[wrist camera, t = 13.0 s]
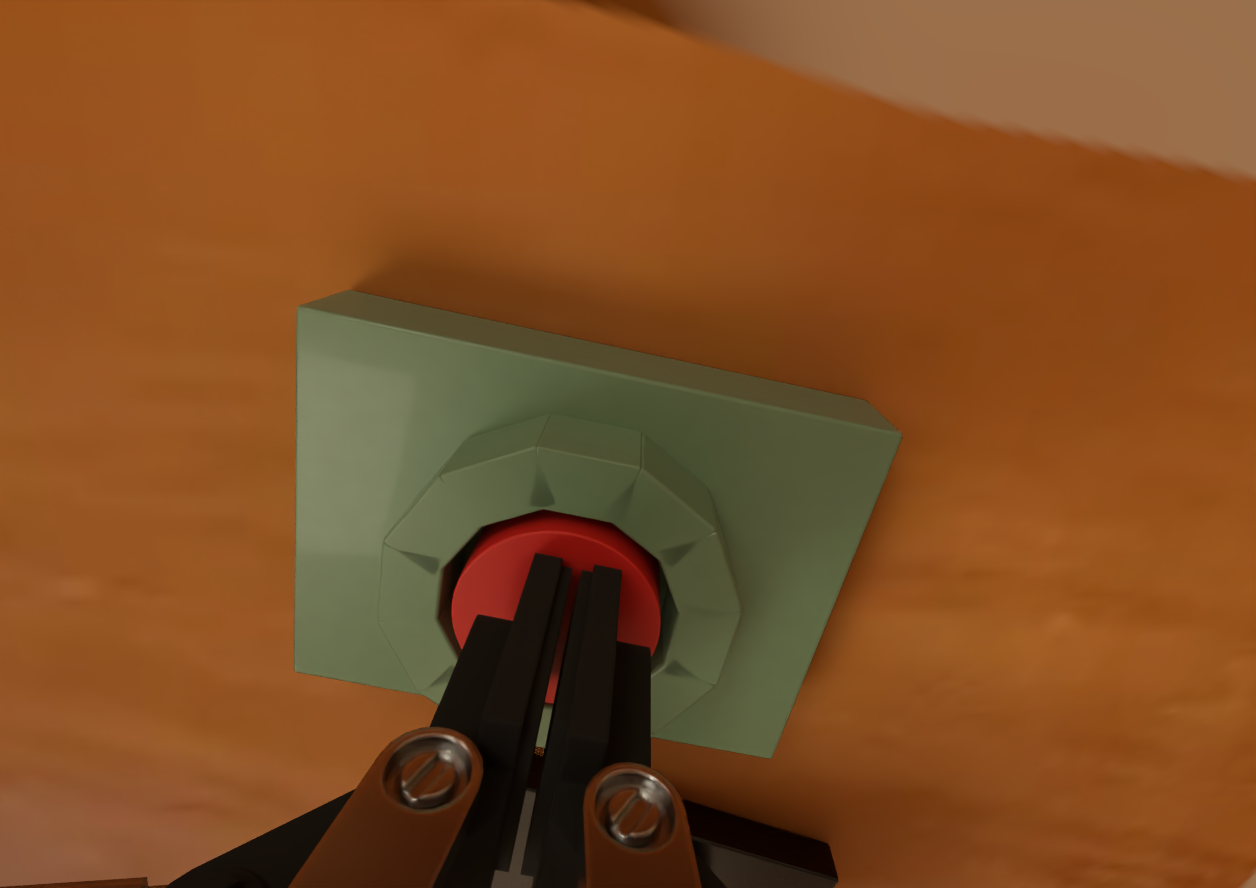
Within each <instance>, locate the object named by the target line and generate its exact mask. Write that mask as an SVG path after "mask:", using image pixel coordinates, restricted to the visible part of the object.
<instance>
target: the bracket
mask: <svg viewBox="0 0 1256 888" xmlns="http://www.w3.org/2000/svg"><path fill="white" fill-rule="evenodd" d="M542 760H543V757H540V756H537V755H534V756H533V761H532V765H531V770H530V775H529V779H528V784H527V789H526V794H525V798H524V803H523V808H522V813H521V817H520V822H519V827H518V831H517V836H516V841H515V846H514V850H513V855H512V860H511V864H510V869H509V872H503V871H497V870H495V873H494V877H493V882H492V886H491V888H532V883H533V877H531V876H526V875H520V873H521V867H522V862H523V857H524V852H525V847H526V842H527V837H528V831H529V826H530V821H531V816H532V811H533V806H534V801H535V795H536V790H537V785H538V780H539V775H540V770H541V765H542ZM682 801H683V804H684V807H685V810H686V814H687V819H688V824H689V829H690V833H691V838H692V843H693V848H694V851H695V852H696V853H697V855H698V856H699V857H700V858H701V859H702V860H703V861H704V862H705V864H706V865H707V866H708V867H709V868H710V869H711V870H712V871H713V872H714V874H715V875H716V876H717V877H718V878H719V879H720V880H721V881H722V883H723V884H724V885H725V886H726V887H727V888H834V887H835V885H836V884H837V883H838V875H837V872H836V868H835V865H834V861H833V857H832V854H831V850H830V847H829V845H828V844H827V843H824V842H821V841H817V840H814V839H811V838H807V837H804V836H801V835H797V834H794V833H791V832H788V831H784V830H781V829H778V828H774V827H771V826H768V825H764V824H761V823H758V822H754V821H751V820H748V819H745V818H741V817H738V816H735V815H731V814H728V813H725V812H721V811H718V810H715V809H712V808H708V807H705V806H702V805H698V804H695V803H692V802H688V801H685V800H682Z"/></svg>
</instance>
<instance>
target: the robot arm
mask: <svg viewBox="0 0 1256 888" xmlns="http://www.w3.org/2000/svg"><path fill="white" fill-rule="evenodd" d="M562 563H563V558H560V557H555V556H550V555H545V554H540V553H535V555H534V558H533V561H532V564H531V567H530V570H529V573H528V576H527V579H526V582H525V585H524V588H523V591H522V594H521V597H520V600H519V603H518V606H517V610H516V613H515V616H514V619H513V621H512V620H507V619H502V618H496V617H491V616H486V615H481V614H478V615H477V616H476V618H475V620H474V622H473V625H472V627H471V629H470V632H469V634H468V637H467V639H466V641H465V644H464V646H463V648H462V651H461V653H460V656H459V658H458V660H457V663H456V665H455V668H454V670H453V672H452V675H451V677H450V680H449V682H448V684H447V687H446V689H445V691H444V694H443V696H442V699H441V701H440V703H439V706H438V708H437V711H436V713H435V715H434V718H433V720H432V723H431V725H430V727H426V728H419V729H416V730H413V731H410V732H407V733H404V734H403V735H401V736H400V737H398V738H396V739H395V740H393V741H392V742H390V744H389V745H388V746H387V747H386V748H385V749H384V750H383V751H382V752H381V753H380V754H379V756H378V757H377V759H376V760H375V762H374V763H373V765H372V766H371V768H370V769H369V770H368V772H367V773H366V775H365V776H364V778H363V779H362V781H361V782H360V783H359V785H358V786H357V788H356V789H355V790H352V791H350V792H348V793H346V794H344V795H342V796H340V797H338V798H336V799H334V800H332V801H330V802H328V803H326V804H324V805H322V806H320V807H318V808H316V809H314V810H312V811H310V812H308V813H306V814H304V815H302V816H300V817H298V818H296V819H294V820H292V821H290V822H287V823H285V824H283V825H281V826H279V827H277V828H275V829H273V830H271V831H269V832H267V833H265V834H263V835H261V836H259V837H257V838H255V839H253V840H251V841H249V842H247V843H245V844H243V845H241V846H239V847H237V848H235V849H233V850H231V851H229V852H227V853H225V854H222V855H220V856H218V857H216V858H214V859H212V860H210V861H208V862H206V863H204V864H202V865H200V866H198V867H196V868H194V869H192V870H191V871H189V872H187V873H186V874H184V875H183V876H181V877H179V878H178V879H176V880H175V881H173V882H171V883H170V884H169V885H159V886H148V882H147V877H142V878H127V879H112V880H97V881H83V882H68V883H53V884H38V885H23V886H8V887H0V888H491V886H492V882H493V877H494V873H495V870H497V871H503V872H509V869H510V864H511V860H512V855H513V850H514V846H515V841H516V836H517V831H518V827H519V822H520V817H521V813H522V808H523V803H524V798H525V794H526V789H527V784H528V779H529V775H530V770H531V765H532V761H533V756H534V751H535V746H536V742H537V737H538V732H539V728H540V723H541V718H542V713H543V709H544V704H545V699H546V695H547V690H548V685H549V680H550V675H551V671H552V666H553V661H554V656H555V651H556V647H557V642H558V637H559V632H560V627H561V622H562V618H563V613H564V608H565V603H566V598H567V593H568V589H569V584H570V579H571V574H572V569H573V568H571V567H566V566H562ZM621 580H622V570H620V569H615V568H610V567H605V566H600V565H595V564H594V567H593V571H592V572H591V571H586V570H582V571H581V575H580V580H579V585H578V589H577V594H576V599H575V603H574V608H573V613H572V617H571V622H570V627H569V632H568V636H567V641H566V646H565V650H564V655H563V660H562V664H561V669H560V674H559V678H558V683H557V688H556V693H555V698H554V703H553V708H552V713H551V718H550V724H549V729H548V734H547V739H546V744H545V749H544V754H543V760H542V765H541V770H540V775H539V780H538V785H537V790H536V795H535V801H534V806H533V811H532V816H531V821H530V826H529V831H528V837H527V842H526V847H525V852H524V857H523V862H522V867H521V873H520V875H526V876H531V877H533V883H532V888H727V887H726V886H725V885H724V884H723V883H722V881H721V880H720V879H719V878H718V877H717V876H716V875H715V874H714V872H713V871H712V870H711V869H710V868H709V867H708V866H707V865H706V864H705V862H704V861H703V860H702V859H701V858H700V857H699V856H698V855H697V853H696V852H695V851H694V848H693V843H692V838H691V833H690V829H689V824H688V819H687V814H686V810H685V807H684V804H683V801H682V799H681V796H680V794H679V793H678V791H677V790H676V789H675V787H674V786H673V784H672V783H671V782H670V781H669V780H668V779H666V778H665V777H664V776H663V775H662V774H660V773H659V772H658V771H656V770H654V769H651V650H650V647H646V646H640V645H635V644H630V643H625V642H620V641H617V630H618V618H619V605H620V593H621Z"/></svg>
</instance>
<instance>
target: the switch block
mask: <svg viewBox="0 0 1256 888" xmlns="http://www.w3.org/2000/svg"><path fill="white" fill-rule="evenodd" d="M901 439H902V433H901V432H900V431H899V430H898V429H897V428H895V427H894V426H893V425H892V424H891V423H890V422H889V421H888V420H887V419H886V418H885V417H884V416H883V415H882V414H881V413H880V412H879V411H877V410H876V409H875V408H874V407H873V406H872V405H871V404H870V403H869V402H868V401H866V400H862V399H857V398H852V397H848V396H843V395H838V394H834V393H829V392H824V391H819V390H815V389H810V388H805V387H801V386H796V385H791V384H787V383H782V382H777V381H773V380H768V379H763V378H759V377H754V376H749V375H745V374H740V373H735V372H731V371H726V370H721V369H717V368H712V367H707V366H703V365H698V364H693V363H689V362H684V361H679V360H675V359H670V358H665V357H661V356H656V355H651V354H647V353H642V352H637V351H632V350H628V349H623V348H618V347H614V346H609V345H604V344H600V343H595V342H590V341H586V340H581V339H576V338H572V337H567V336H562V335H558V334H553V333H548V332H544V331H539V330H534V329H530V328H525V327H520V326H516V325H511V324H506V323H502V322H497V321H492V320H488V319H483V318H478V317H474V316H469V315H464V314H460V313H455V312H450V311H445V310H441V309H436V308H431V307H427V306H422V305H417V304H413V303H408V302H403V301H399V300H394V299H389V298H385V297H380V296H375V295H371V294H366V293H361V292H357V291H352V290H347V291H344V292H341V293H337V294H334V295H331V296H328V297H325V298H322V299H319V300H315V301H312V302H309V303H306V304H303V305H300V306H298V307H297V332H296V476H295V619H294V670H295V671H296V672H298V673H304V674H309V675H315V676H320V677H326V678H331V679H337V680H342V681H348V682H353V683H358V684H364V685H369V686H375V687H380V688H386V689H391V690H397V691H402V692H408V693H413V694H419V695H424V696H425V697H427V698H428V699H430V700H431V701H433V702H434V703H436V704H437V705H439V703H440V701H441V699H442V696H443V694H444V691H445V689H446V687H447V684H448V682H449V680H450V677H451V675H452V672H453V670H454V668H455V665H456V663H457V660H458V658H459V656H460V653H461V651H462V649H461V647H460V645H459V643H458V640H457V638H456V635H455V632H454V628H453V624H452V615H451V609H452V598H453V594H454V590H455V587H456V585H457V582H458V579H459V577H460V575H461V573H462V571H463V569H464V567H465V565H466V563H467V561H468V559H469V557H470V555H471V553H472V551H473V549H474V547H475V545H476V543H477V541H478V539H479V537H480V535H481V533H482V531H483V530H484V528H485V526H486V525H490V524H493V523H497V522H500V521H504V520H507V519H511V518H514V517H518V516H521V515H525V514H528V513H532V512H536V511H539V510H543V509H545V510H550V511H555V512H560V513H565V514H570V515H575V516H580V517H585V518H590V519H595V520H600V521H605V522H610V523H613V524H614V525H615V526H616V527H618V528H619V529H620V530H621V531H623V532H624V533H625V534H626V535H628V536H629V537H630V538H631V539H633V540H634V541H635V542H636V543H638V544H639V545H640V546H641V547H643V548H644V549H645V550H646V551H648V552H649V553H650V554H652V555H653V556H654V557H655V558H657V559H658V563H659V576H660V610H661V626H660V635H659V640H658V643H657V646H656V649H655V651H654V653H653V655H652V657H651V737H653V738H659V739H664V740H670V741H675V742H681V743H686V744H692V745H697V746H703V747H708V748H713V749H719V750H724V751H730V752H735V753H741V754H746V755H752V756H757V757H763V758H768V759H770V758H772V757H773V754H774V752H775V749H776V747H777V744H778V742H779V740H780V737H781V735H782V732H783V730H784V727H785V725H786V722H787V720H788V717H789V715H790V712H791V710H792V708H793V705H794V703H795V700H796V698H797V695H798V693H799V690H800V688H801V685H802V683H803V680H804V678H805V676H806V673H807V671H808V668H809V666H810V663H811V661H812V658H813V656H814V653H815V651H816V648H817V646H818V644H819V641H820V639H821V636H822V634H823V631H824V629H825V626H826V624H827V621H828V619H829V616H830V614H831V612H832V609H833V607H834V604H835V602H836V599H837V597H838V594H839V592H840V589H841V587H842V584H843V582H844V580H845V577H846V575H847V572H848V570H849V567H850V565H851V562H852V560H853V557H854V555H855V552H856V550H857V548H858V545H859V543H860V540H861V538H862V535H863V533H864V530H865V528H866V525H867V523H868V521H869V518H870V516H871V513H872V511H873V508H874V506H875V503H876V501H877V498H878V496H879V493H880V491H881V489H882V486H883V484H884V481H885V479H886V476H887V474H888V471H889V469H890V466H891V464H892V461H893V459H894V457H895V454H896V452H897V449H898V447H899V444H900V442H901ZM552 708H553V703H547V702H545V704H544V709H543V713H542V718H541V723H540V728H539V732H538V737H537V742H536V746H537V747H542V748H545V744H546V739H547V734H548V729H549V724H550V718H551V713H552Z"/></svg>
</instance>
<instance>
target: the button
mask: <svg viewBox="0 0 1256 888" xmlns="http://www.w3.org/2000/svg"><path fill="white" fill-rule="evenodd" d="M535 553H540V554H545V555H550V556H555V557H560V558H563V563H562V566H566V567H571V568H573V569H572V574H571V579H570V584H569V589H568V593H567V598H566V603H565V608H564V613H563V618H562V622H561V627H560V632H559V637H558V642H557V647H556V651H555V656H554V661H553V666H552V671H551V675H550V680H549V685H548V690H547V695H546V699H545V702H547V703H554V698H555V693H556V688H557V683H558V678H559V674H560V669H561V664H562V660H563V655H564V650H565V646H566V641H567V636H568V632H569V627H570V622H571V617H572V613H573V608H574V603H575V599H576V594H577V589H578V585H579V580H580V575H581V571H582V570H586V571H591V572H592V571H593V567H594V564H595V565H600V566H605V567H610V568H615V569H620V570H622V580H621V593H620V605H619V618H618V630H617V641H620V642H625V643H630V644H635V645H640V646H646V647H650V650H651V657H652V655H653V653H654V651H655V649H656V646H657V643H658V640H659V635H660V626H661V610H660V576H659V563H658V559H657V558H655V557H654V556H653V555H652V554H650V553H649V552H648V551H646V550H645V549H644V548H643V547H641V546H640V545H639V544H638V543H636V542H635V541H634V540H633V539H631V538H630V537H629V536H628V535H626V534H625V533H624V532H623V531H621V530H620V529H619V528H618V527H616V526H615V525H614V524H613V523H610V522H605V521H600V520H595V519H590V518H585V517H580V516H575V515H570V514H565V513H560V512H555V511H550V510H545V509H543V510H539V511H536V512H532V513H528V514H525V515H521V516H518V517H514V518H511V519H507V520H504V521H500V522H497V523H493V524H490V525H486V526H485V528H484V530H483V531H482V533H481V535H480V537H479V539H478V541H477V543H476V545H475V547H474V549H473V551H472V553H471V555H470V557H469V559H468V561H467V563H466V565H465V567H464V569H463V571H462V573H461V575H460V577H459V579H458V582H457V585H456V587H455V590H454V594H453V598H452V609H451V615H452V624H453V628H454V632H455V635H456V638H457V640H458V643H459V645H460V647H461V649H462V648H463V646H464V644H465V641H466V639H467V637H468V634H469V632H470V629H471V627H472V625H473V622H474V620H475V618H476V616H477V615H478V614H481V615H486V616H491V617H496V618H502V619H507V620H512V621H513V619H514V616H515V613H516V610H517V606H518V603H519V600H520V597H521V594H522V591H523V588H524V585H525V582H526V579H527V576H528V573H529V570H530V567H531V564H532V561H533V558H534V555H535Z"/></svg>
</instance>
